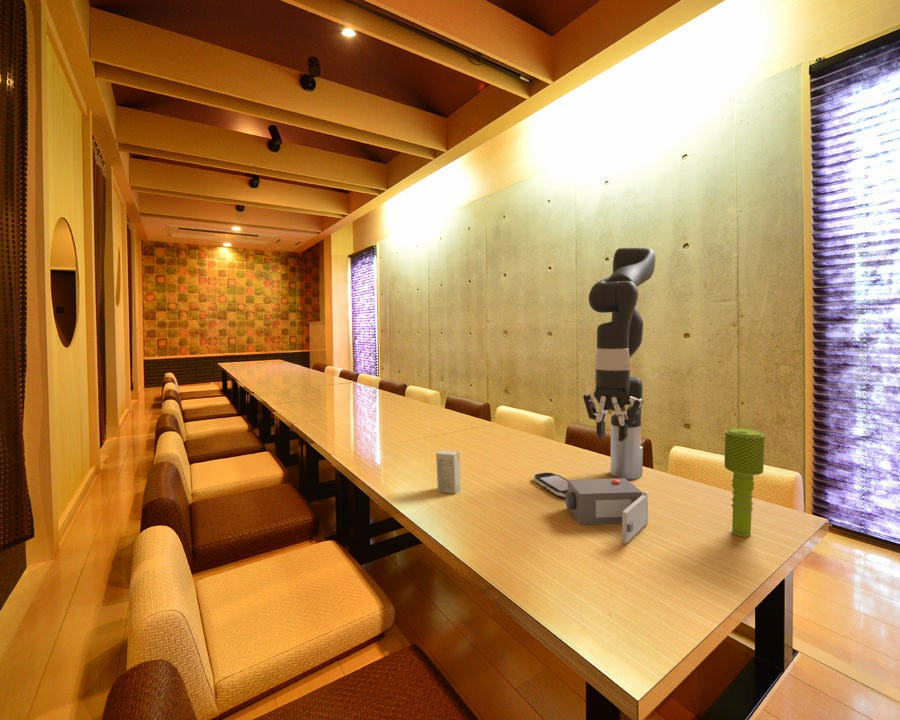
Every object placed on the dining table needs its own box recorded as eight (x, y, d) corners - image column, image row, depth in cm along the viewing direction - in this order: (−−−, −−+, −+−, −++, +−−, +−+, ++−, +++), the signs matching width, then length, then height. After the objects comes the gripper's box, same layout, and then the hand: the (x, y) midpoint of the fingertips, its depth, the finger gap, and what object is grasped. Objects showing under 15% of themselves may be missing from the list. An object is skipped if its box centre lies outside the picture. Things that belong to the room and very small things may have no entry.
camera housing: (561, 508, 117) (561, 477, 117) (624, 506, 118) (625, 475, 117) (573, 525, 107) (574, 491, 107) (642, 523, 108) (643, 489, 107)
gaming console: (529, 481, 140) (529, 473, 140) (552, 477, 143) (552, 469, 143) (563, 503, 122) (563, 494, 122) (589, 498, 125) (589, 489, 125)
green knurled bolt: (762, 544, 96) (766, 435, 95) (722, 536, 100) (725, 432, 99) (759, 529, 103) (763, 428, 101) (722, 522, 107) (725, 425, 105)
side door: (621, 543, 97) (621, 509, 97) (643, 522, 108) (643, 490, 107) (629, 546, 96) (629, 511, 95) (650, 524, 107) (651, 492, 106)
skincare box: (461, 489, 132) (460, 451, 131) (455, 494, 128) (454, 455, 127) (442, 486, 135) (441, 449, 134) (436, 491, 131) (435, 452, 130)
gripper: (576, 367, 102) (576, 437, 103) (637, 370, 92) (636, 447, 94) (590, 364, 108) (590, 431, 109) (649, 367, 98) (648, 440, 99)
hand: (611, 438), depth 101 cm, fingers open, 4 cm apart
